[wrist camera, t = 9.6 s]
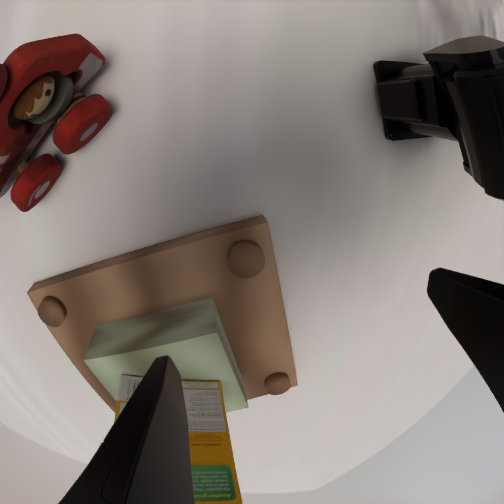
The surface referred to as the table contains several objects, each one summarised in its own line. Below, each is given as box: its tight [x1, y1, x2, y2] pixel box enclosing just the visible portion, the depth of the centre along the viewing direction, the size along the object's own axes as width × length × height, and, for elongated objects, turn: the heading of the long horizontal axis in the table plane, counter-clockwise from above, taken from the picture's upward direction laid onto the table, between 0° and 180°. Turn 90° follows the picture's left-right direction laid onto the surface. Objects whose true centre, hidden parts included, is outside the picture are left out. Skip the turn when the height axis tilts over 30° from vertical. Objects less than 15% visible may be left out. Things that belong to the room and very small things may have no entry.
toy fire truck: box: [0, 34, 112, 212], centre depth 10 cm, size 7×12×10 cm, turn 128°
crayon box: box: [114, 375, 242, 504], centre depth 14 cm, size 7×3×12 cm, turn 80°
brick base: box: [27, 215, 298, 413], centre depth 21 cm, size 20×18×6 cm
